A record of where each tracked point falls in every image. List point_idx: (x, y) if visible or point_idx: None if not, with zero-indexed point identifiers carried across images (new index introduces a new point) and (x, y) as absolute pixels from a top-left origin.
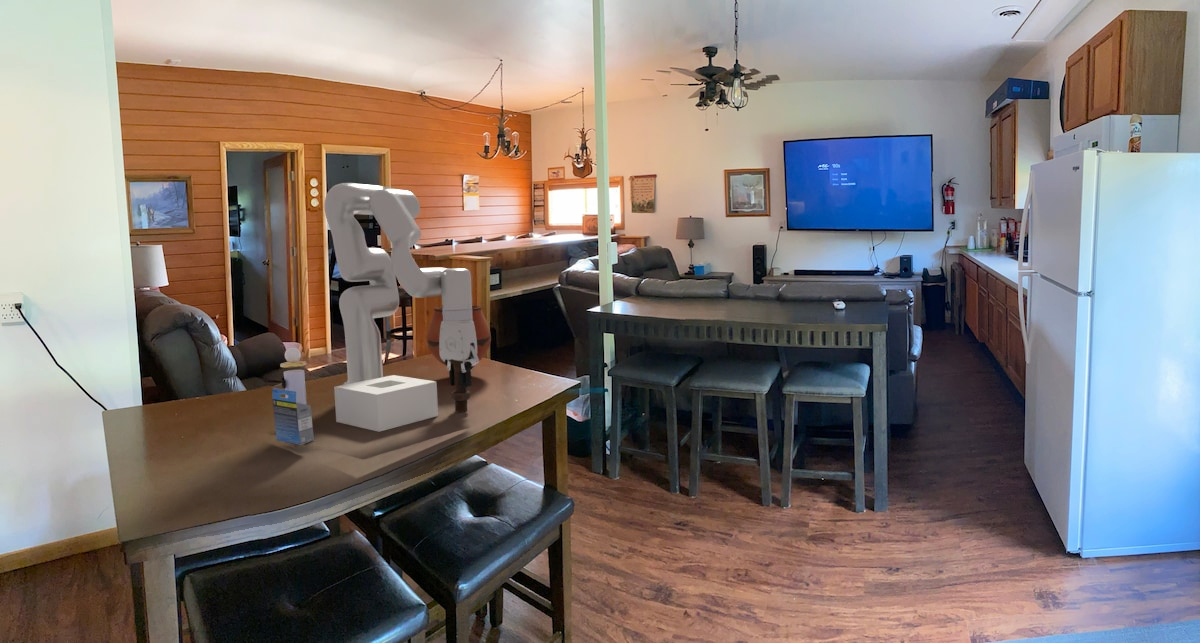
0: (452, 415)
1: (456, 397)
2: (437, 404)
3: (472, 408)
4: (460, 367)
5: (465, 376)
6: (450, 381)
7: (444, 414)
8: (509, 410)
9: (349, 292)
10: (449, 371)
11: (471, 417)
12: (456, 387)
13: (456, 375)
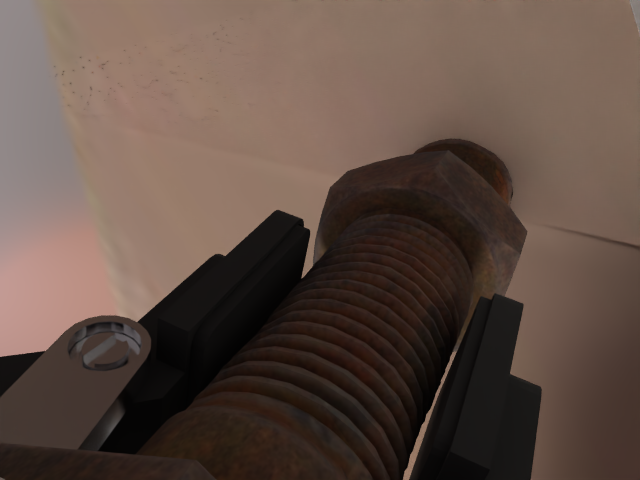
0: (476, 56)
1: (411, 161)
2: (631, 3)
3: None
4: (161, 431)
5: (169, 304)
6: (497, 329)
7: (583, 70)
8: (172, 283)
9: None
10: (482, 457)
11: (275, 41)
12: (396, 247)
13: (316, 337)
